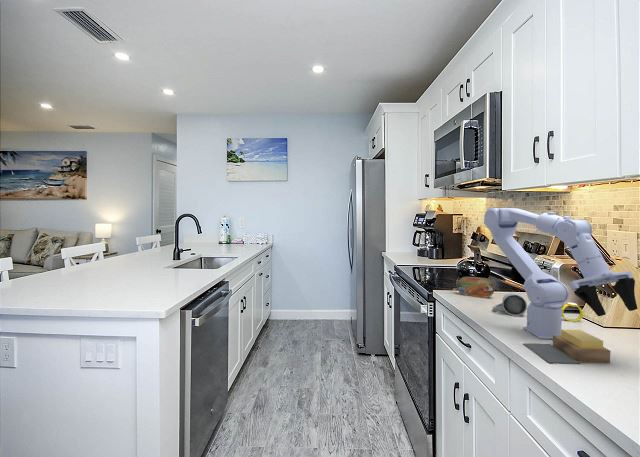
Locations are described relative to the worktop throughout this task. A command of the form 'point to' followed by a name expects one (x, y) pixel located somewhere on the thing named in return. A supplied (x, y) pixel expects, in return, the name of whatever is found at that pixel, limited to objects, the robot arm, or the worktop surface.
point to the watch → (573, 306)
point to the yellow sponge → (582, 339)
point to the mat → (550, 353)
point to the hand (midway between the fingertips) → (617, 312)
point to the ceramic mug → (512, 304)
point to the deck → (581, 351)
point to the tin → (475, 287)
